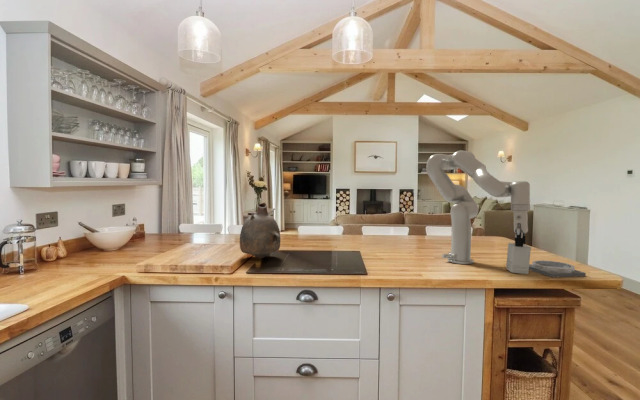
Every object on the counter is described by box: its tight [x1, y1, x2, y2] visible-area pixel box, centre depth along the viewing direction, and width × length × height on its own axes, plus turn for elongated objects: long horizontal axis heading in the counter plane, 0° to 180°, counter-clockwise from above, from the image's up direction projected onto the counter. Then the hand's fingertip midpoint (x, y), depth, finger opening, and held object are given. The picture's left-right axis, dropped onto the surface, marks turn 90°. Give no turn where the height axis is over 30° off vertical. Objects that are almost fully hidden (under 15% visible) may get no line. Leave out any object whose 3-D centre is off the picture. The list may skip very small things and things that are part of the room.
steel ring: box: [531, 259, 576, 273], centre depth 156 cm, size 16×16×2 cm
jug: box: [239, 202, 281, 259], centre depth 178 cm, size 24×21×30 cm
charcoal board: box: [529, 263, 586, 278], centre depth 156 cm, size 17×17×2 cm
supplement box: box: [505, 242, 532, 275], centre depth 155 cm, size 7×7×13 cm
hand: (520, 245), depth 154 cm, fingers open, 9 cm apart
